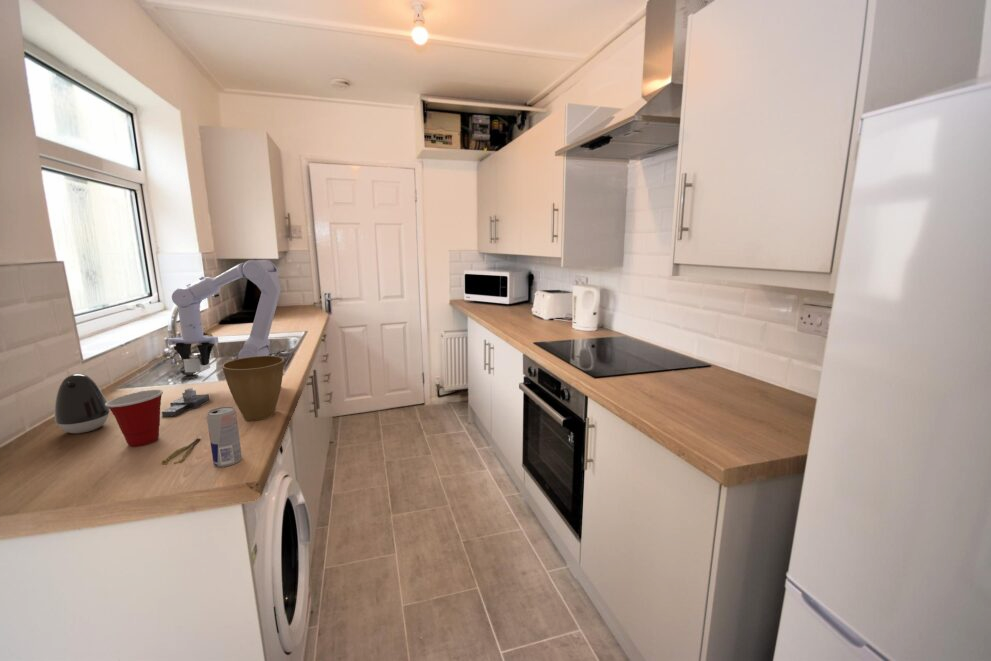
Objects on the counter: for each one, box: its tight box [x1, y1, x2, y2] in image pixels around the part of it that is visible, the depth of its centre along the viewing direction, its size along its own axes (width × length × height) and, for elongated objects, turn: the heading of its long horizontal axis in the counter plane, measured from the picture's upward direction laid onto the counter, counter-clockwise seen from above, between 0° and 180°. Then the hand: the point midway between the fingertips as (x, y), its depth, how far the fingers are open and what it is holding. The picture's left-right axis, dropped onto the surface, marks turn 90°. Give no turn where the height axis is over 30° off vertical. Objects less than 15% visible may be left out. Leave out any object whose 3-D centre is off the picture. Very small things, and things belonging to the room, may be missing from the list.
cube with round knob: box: [182, 352, 211, 373], centre depth 138 cm, size 5×5×6 cm
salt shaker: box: [178, 358, 199, 380], centre depth 155 cm, size 6×6×12 cm
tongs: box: [160, 438, 201, 465], centre depth 97 cm, size 4×13×2 cm, turn 15°
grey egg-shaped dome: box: [54, 373, 111, 434], centre depth 108 cm, size 10×10×15 cm
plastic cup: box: [105, 389, 164, 448], centre depth 101 cm, size 11×11×12 cm
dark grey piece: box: [161, 387, 211, 418], centre depth 124 cm, size 7×13×5 cm, turn 4°
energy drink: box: [206, 405, 243, 468], centre depth 91 cm, size 5×5×12 cm
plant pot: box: [221, 355, 285, 422], centre depth 116 cm, size 15×15×16 cm
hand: (197, 364), depth 138 cm, fingers closed on cube with round knob, 5 cm apart
